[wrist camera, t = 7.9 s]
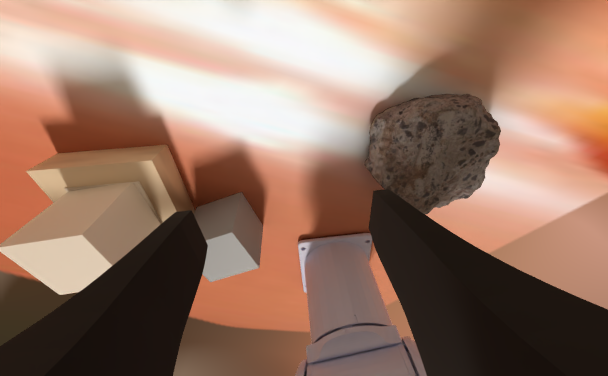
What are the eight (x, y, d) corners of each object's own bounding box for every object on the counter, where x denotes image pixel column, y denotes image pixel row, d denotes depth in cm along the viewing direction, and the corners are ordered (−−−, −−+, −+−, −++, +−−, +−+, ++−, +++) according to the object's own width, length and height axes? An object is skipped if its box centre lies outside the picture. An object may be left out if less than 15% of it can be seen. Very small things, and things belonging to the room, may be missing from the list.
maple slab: (201, 218, 22) (191, 242, 20) (116, 226, 22) (95, 252, 19) (169, 142, 18) (150, 161, 15) (61, 150, 17) (24, 172, 15)
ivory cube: (163, 227, 18) (130, 284, 14) (108, 235, 18) (59, 294, 14) (132, 181, 16) (81, 234, 12) (68, 191, 16) (-5, 248, 12)
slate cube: (263, 225, 23) (259, 267, 19) (222, 237, 24) (210, 282, 19) (241, 191, 20) (231, 232, 16) (197, 206, 21) (176, 249, 17)
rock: (419, 203, 23) (443, 232, 20) (341, 149, 19) (353, 174, 16) (502, 134, 20) (547, 156, 16) (427, 48, 15) (467, 53, 12)
